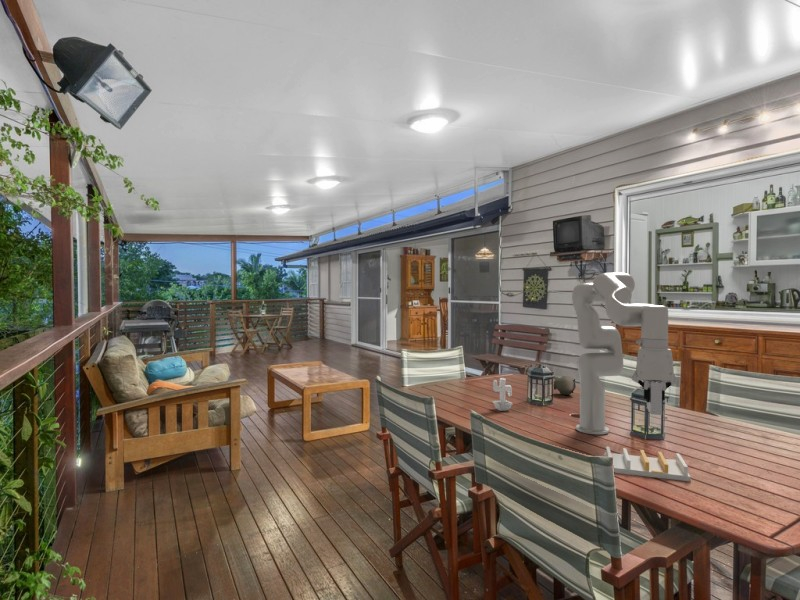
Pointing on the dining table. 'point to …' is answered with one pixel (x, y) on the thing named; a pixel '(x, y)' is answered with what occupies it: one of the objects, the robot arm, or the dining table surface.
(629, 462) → the rack
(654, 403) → the panel
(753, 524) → the dining table surface
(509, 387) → the figurine
